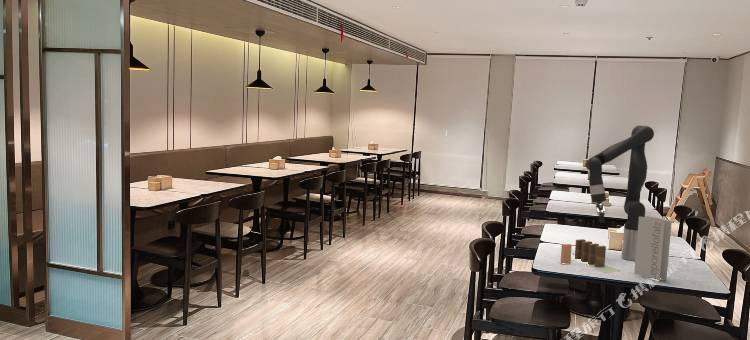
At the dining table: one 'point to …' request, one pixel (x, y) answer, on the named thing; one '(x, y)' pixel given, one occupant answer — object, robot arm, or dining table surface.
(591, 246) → the tile
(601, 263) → the tile
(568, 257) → the tile
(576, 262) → the dining table surface
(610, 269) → the mat
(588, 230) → the dining table surface
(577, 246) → the tile
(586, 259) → the tile
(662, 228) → the brochure
